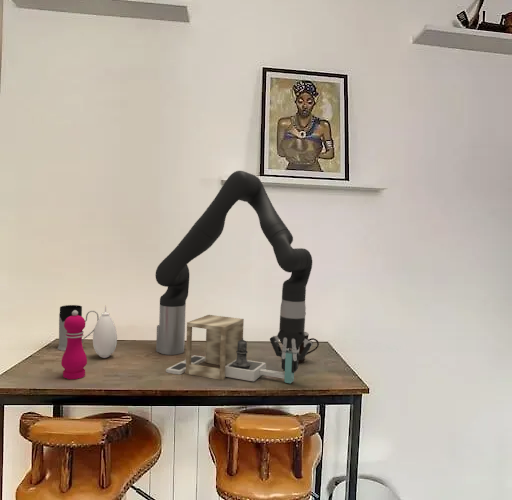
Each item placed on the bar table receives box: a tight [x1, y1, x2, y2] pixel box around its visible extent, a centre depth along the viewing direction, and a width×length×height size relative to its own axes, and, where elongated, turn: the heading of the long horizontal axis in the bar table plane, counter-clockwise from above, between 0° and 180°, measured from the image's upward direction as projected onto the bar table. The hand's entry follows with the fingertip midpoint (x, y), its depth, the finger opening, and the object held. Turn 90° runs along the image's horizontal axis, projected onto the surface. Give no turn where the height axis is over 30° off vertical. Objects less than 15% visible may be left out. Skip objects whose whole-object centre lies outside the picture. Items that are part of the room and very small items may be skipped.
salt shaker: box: [232, 336, 251, 370], centre depth 152 cm, size 6×6×12 cm
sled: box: [225, 351, 295, 384], centre depth 150 cm, size 20×10×9 cm, turn 68°
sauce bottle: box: [92, 305, 118, 359], centre depth 165 cm, size 8×8×18 cm
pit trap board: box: [165, 354, 206, 376], centre depth 160 cm, size 5×18×1 cm, turn 158°
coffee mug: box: [289, 331, 320, 365], centre depth 168 cm, size 12×9×10 cm
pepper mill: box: [60, 310, 88, 380], centre depth 145 cm, size 7×7×20 cm
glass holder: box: [57, 304, 100, 352], centre depth 176 cm, size 9×14×15 cm, turn 94°
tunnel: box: [185, 314, 245, 381], centre depth 155 cm, size 13×14×16 cm
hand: (289, 371), depth 146 cm, fingers closed on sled, 2 cm apart
